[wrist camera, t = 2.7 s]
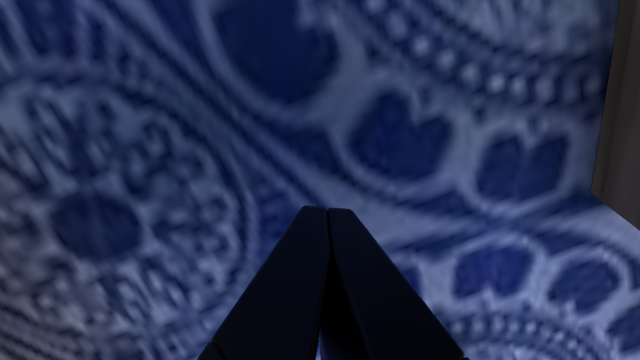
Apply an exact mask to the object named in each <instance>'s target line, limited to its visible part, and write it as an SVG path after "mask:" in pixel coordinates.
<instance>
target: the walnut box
mask: <svg viewBox="0 0 640 360" xmlns="http://www.w3.org/2000/svg"><path fill="white" fill-rule="evenodd" d="M591 193H592V194H593V195H594V196H596V197H597V198H598V199H599V200H601V201H602V202H603V203H605V204H606V205H607V206H609V207H610V208H611V209H612V210H614V211H615V212H616V213H618V214H619V215H620V216H622V217H623V218H624V219H625V220H627V221H628V222H629V223H631V224H632V225H633V226H635V227H636V228H637V229H638V230H640V0H620V7H619V13H618V20H617V26H616V33H615V39H614V46H613V52H612V59H611V66H610V72H609V79H608V85H607V92H606V98H605V105H604V111H603V118H602V124H601V131H600V137H599V144H598V150H597V157H596V163H595V170H594V176H593V183H592V189H591Z"/></svg>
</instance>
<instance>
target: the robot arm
mask: <svg viewBox="0 0 640 360" xmlns="http://www.w3.org/2000/svg"><path fill="white" fill-rule="evenodd" d="M318 339H319V343H320V355H321V360H470V359H469V358H467V357H465V358H464V352H463V351H462V350H461V348H460V347H459V346H458V344H457V343H456V342H455V341H454V339H453V338H452V337H451V336H450V334H449V333H448V332H447V330H446V329H445V328H444V327H443V325H442V324H441V323H440V322H439V320H438V319H437V318H436V316H435V315H434V314H433V313H432V311H431V310H430V309H429V308H428V306H427V305H426V304H425V302H424V301H423V300H422V299H421V297H420V296H419V295H418V294H417V292H416V291H415V290H414V288H413V287H412V286H411V285H410V283H409V282H408V281H407V280H406V278H405V277H404V276H403V275H402V273H401V272H400V271H399V269H398V268H397V267H396V266H395V264H394V263H393V262H392V261H391V259H390V258H389V257H388V255H387V254H386V253H385V252H384V250H383V249H382V248H381V247H380V245H379V244H378V243H377V241H376V240H375V239H374V238H373V236H372V235H371V234H370V233H369V231H368V230H367V229H366V227H365V226H364V225H363V224H362V222H361V221H360V220H359V219H358V217H357V216H356V215H355V213H354V212H353V211H352V210H350V209H343V208H329V209H328V210H326V208H324V207H318V206H303V207H302V208H301V209H300V211H299V212H298V214H297V215H296V217H295V218H294V219H293V221H292V222H291V224H290V225H289V227H288V228H287V230H286V231H285V233H284V234H283V235H282V237H281V238H280V240H279V241H278V243H277V244H276V246H275V247H274V249H273V250H272V251H271V253H270V254H269V256H268V257H267V259H266V260H265V262H264V263H263V265H262V266H261V268H260V269H259V270H258V272H257V273H256V275H255V276H254V278H253V279H252V281H251V282H250V284H249V285H248V286H247V288H246V289H245V291H244V292H243V294H242V295H241V297H240V298H239V300H238V301H237V302H236V304H235V305H234V307H233V308H232V310H231V311H230V313H229V314H228V316H227V317H226V318H225V320H224V321H223V323H222V324H221V326H220V327H219V329H218V330H217V332H216V333H215V334H214V336H213V337H212V340H211V342H209V343H208V344H207V346H206V347H205V349H204V350H203V351H202V353H201V354H200V356H199V357H198V359H197V360H315V359H316V352H317V346H318ZM463 358H464V359H463Z"/></svg>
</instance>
